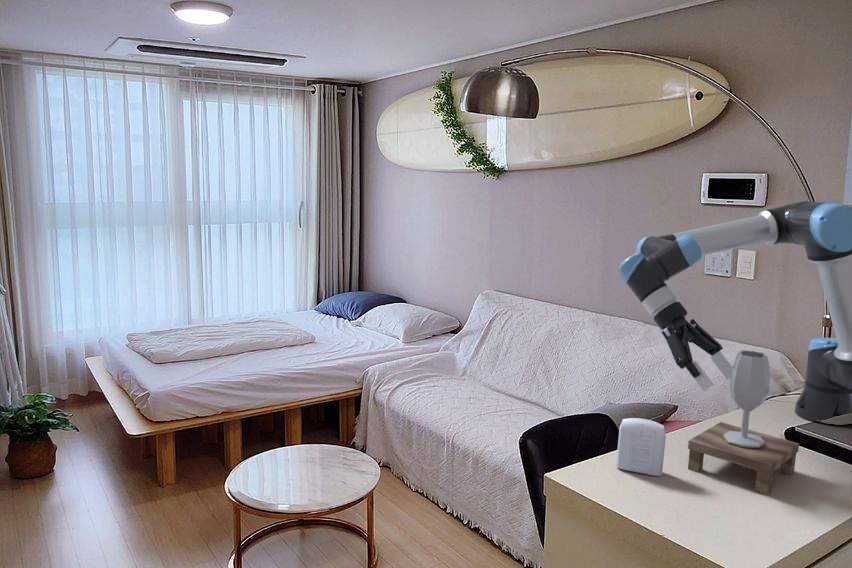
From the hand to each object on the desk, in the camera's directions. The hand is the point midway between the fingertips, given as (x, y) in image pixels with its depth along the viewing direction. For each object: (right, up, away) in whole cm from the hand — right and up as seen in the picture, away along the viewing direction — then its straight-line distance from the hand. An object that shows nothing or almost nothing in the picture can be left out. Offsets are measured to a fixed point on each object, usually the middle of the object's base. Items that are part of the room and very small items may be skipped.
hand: (720, 382), depth 157 cm
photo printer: (-20, -20, -2) cm, 28 cm away
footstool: (+4, -20, -1) cm, 21 cm away
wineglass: (+4, -14, -2) cm, 15 cm away
